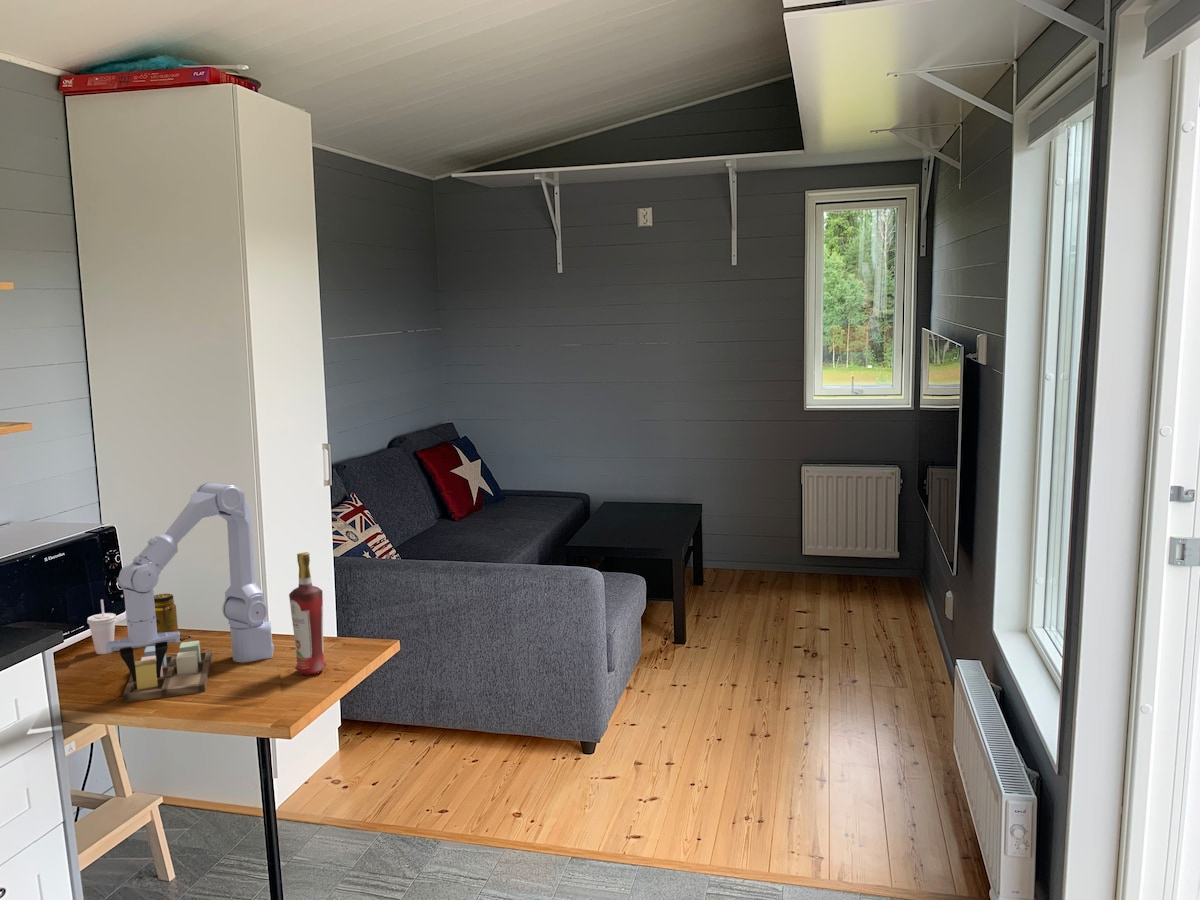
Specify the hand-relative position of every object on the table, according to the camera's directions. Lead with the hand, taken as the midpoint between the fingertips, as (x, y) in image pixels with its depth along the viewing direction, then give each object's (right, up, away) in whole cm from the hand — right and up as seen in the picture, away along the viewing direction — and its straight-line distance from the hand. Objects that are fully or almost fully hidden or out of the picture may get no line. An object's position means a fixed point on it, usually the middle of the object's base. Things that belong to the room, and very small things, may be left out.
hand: (146, 678), depth 208 cm
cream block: (+5, -2, +10) cm, 11 cm away
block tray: (+1, -3, +9) cm, 9 cm away
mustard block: (0, -2, +1) cm, 2 cm away
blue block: (-5, -1, +14) cm, 15 cm away
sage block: (+2, -1, +17) cm, 17 cm away
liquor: (+32, -2, +13) cm, 34 cm away
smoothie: (-24, -1, +28) cm, 36 cm away
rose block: (-2, -2, +7) cm, 8 cm away
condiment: (-12, +1, +38) cm, 40 cm away
